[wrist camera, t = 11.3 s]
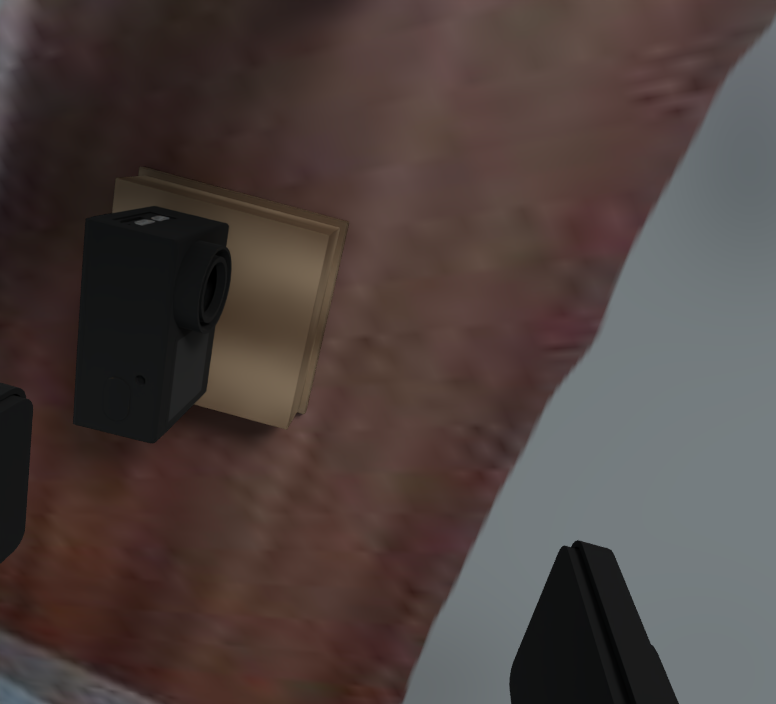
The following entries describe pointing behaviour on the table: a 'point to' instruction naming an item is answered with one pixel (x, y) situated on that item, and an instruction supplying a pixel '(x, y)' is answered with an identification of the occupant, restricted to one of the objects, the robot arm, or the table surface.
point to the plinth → (257, 292)
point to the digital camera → (147, 318)
